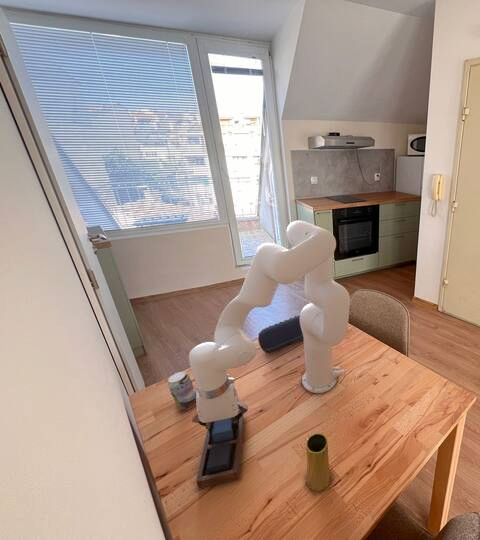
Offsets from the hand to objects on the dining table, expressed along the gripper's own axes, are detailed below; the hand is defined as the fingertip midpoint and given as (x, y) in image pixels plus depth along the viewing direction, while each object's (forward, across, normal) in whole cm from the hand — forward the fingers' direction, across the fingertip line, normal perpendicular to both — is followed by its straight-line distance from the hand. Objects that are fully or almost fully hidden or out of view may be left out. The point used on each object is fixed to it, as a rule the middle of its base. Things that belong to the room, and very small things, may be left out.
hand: (225, 431), depth 86 cm
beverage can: (+3, +14, -16) cm, 21 cm away
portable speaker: (+3, -20, -41) cm, 46 cm away
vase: (+3, -25, +18) cm, 31 cm away
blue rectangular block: (0, 0, 0) cm, 0 cm away
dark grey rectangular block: (+2, 0, +8) cm, 9 cm away
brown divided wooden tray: (+3, 0, +4) cm, 5 cm away
